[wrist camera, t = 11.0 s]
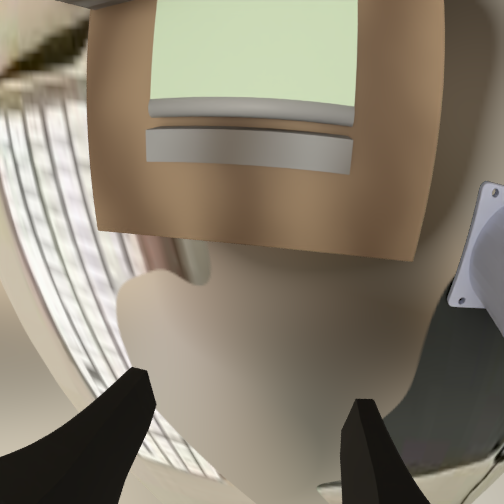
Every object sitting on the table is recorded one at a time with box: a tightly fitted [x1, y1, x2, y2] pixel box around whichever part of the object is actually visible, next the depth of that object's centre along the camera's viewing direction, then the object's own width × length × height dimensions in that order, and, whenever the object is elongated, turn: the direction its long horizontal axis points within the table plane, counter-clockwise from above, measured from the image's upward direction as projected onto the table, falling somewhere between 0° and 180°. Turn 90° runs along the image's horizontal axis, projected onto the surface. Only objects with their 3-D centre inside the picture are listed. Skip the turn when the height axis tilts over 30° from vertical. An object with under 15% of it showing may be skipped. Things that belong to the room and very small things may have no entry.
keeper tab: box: [148, 0, 358, 127], centre depth 12 cm, size 9×6×1 cm
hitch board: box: [57, 0, 445, 262], centre depth 10 cm, size 18×22×5 cm
